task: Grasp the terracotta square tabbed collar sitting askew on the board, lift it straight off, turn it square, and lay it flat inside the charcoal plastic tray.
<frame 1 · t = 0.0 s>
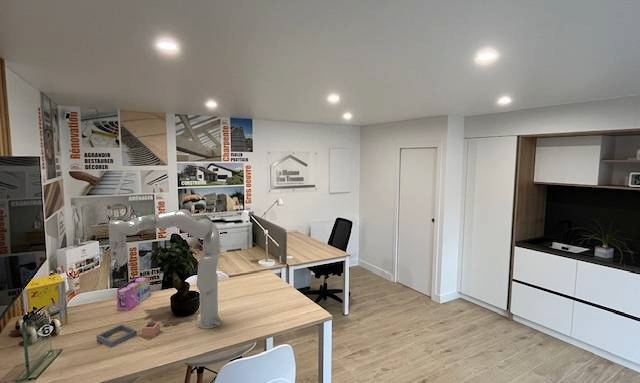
hand: (119, 275, 178), 31 cm above the table, tool pointing down, fingers open, 9 cm apart
ring: (151, 334, 176), point 1 cm above the table, touching board
gum box: (134, 303, 215), on the table
tray: (117, 339, 172), on the table
packaging box: (47, 324, 187), on the table
board: (151, 335, 176), on the table
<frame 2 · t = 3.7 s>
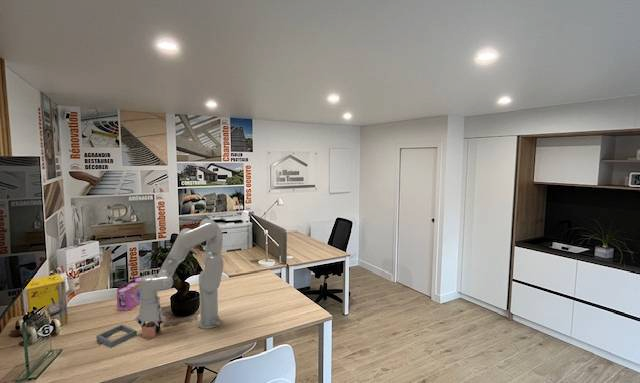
hand: (151, 331, 176), 2 cm above the table, tool pointing down, fingers closed on ring, 6 cm apart
ring: (151, 334, 176), point 1 cm above the table, touching gripper, board
everything else where it was.
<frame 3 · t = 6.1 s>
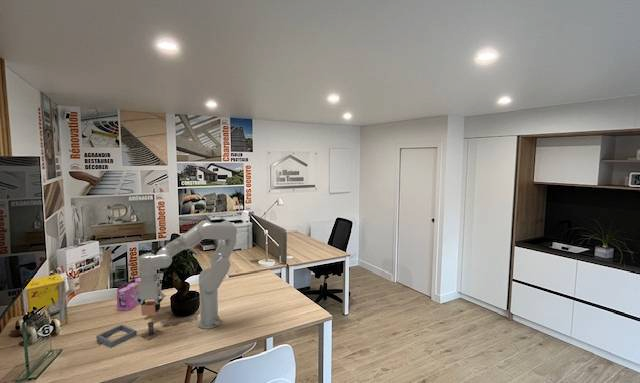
hand: (151, 310, 175), 14 cm above the table, tool pointing down, fingers closed on ring, 6 cm apart
ring: (151, 312, 175), point 13 cm above the table, touching gripper
everything else where it was.
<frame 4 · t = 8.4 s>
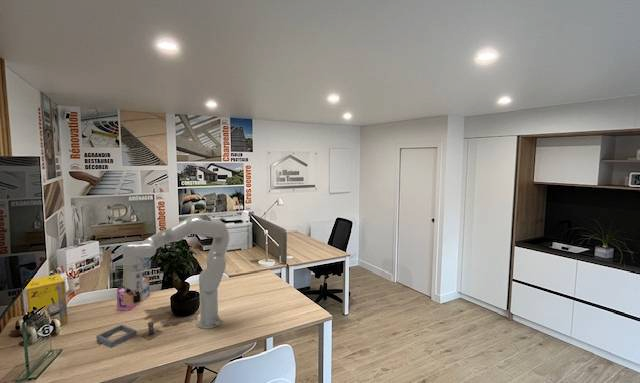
hand: (132, 300, 172), 20 cm above the table, tool pointing down, fingers closed on ring, 6 cm apart
ring: (132, 302, 172), point 19 cm above the table, touching gripper
everything else where it was.
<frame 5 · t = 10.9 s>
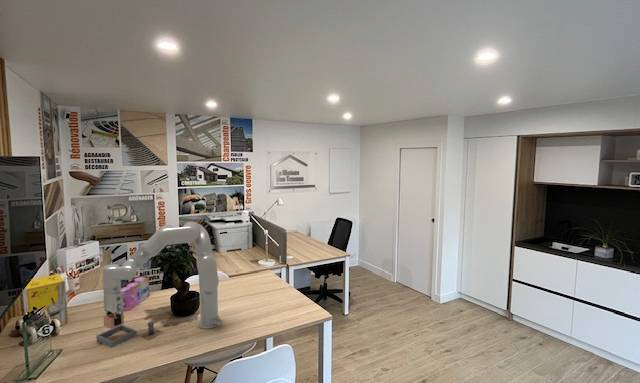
hand: (113, 322, 171), 10 cm above the table, tool pointing down, fingers closed on ring, 6 cm apart
ring: (114, 324, 171), point 8 cm above the table, touching gripper
everything else where it was.
when the fingers open (4 cm above the table, at t = 13.0 s): ring drops 2 cm, resting on tray.
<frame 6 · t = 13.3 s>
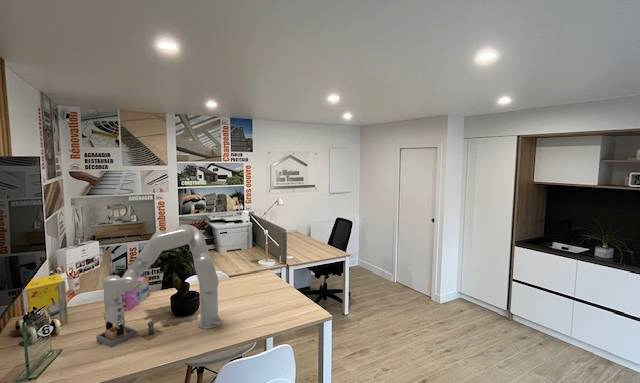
hand: (115, 332, 171), 4 cm above the table, tool pointing down, fingers open, 9 cm apart
ring: (115, 338, 172), point 1 cm above the table, touching tray
everything else where it was.
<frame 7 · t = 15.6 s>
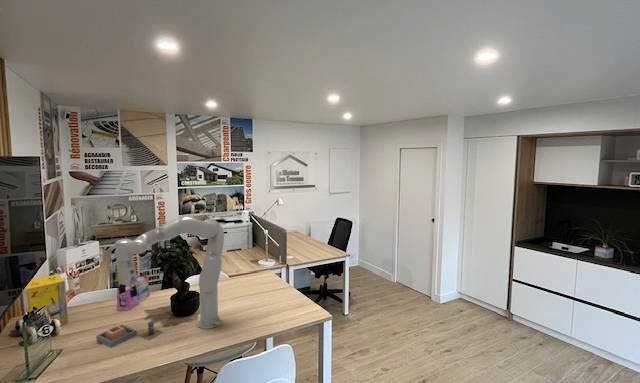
hand: (128, 294, 175), 22 cm above the table, tool pointing down, fingers open, 9 cm apart
nothing on the table moved.
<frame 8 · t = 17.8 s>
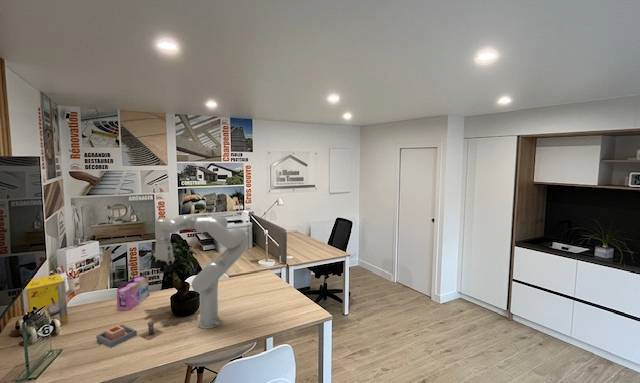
hand: (164, 269, 189), 30 cm above the table, tool pointing down, fingers open, 9 cm apart
nothing on the table moved.
at the end: ring inside the target area on the tray (0.8 cm from its centre), point 0.8 cm above the tray's base; ring tilted 0°; the gripper is holding nothing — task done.
